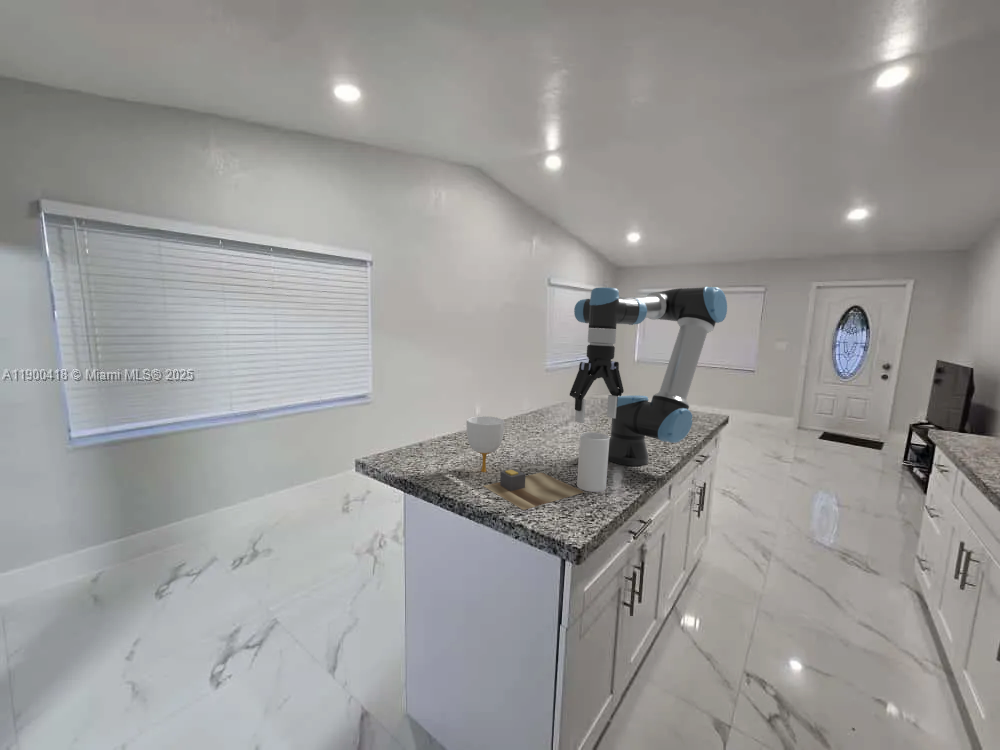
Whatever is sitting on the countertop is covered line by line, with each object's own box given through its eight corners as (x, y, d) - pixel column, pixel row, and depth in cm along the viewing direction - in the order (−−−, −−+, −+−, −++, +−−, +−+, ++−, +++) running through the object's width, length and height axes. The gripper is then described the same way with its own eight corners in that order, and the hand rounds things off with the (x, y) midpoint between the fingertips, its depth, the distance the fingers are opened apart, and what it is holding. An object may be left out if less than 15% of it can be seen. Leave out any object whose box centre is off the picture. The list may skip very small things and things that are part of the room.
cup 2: (611, 493, 120) (615, 438, 118) (586, 496, 117) (590, 440, 115) (594, 482, 128) (598, 431, 126) (571, 485, 125) (574, 432, 123)
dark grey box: (514, 481, 123) (514, 467, 122) (524, 487, 119) (525, 472, 118) (500, 485, 120) (500, 470, 120) (510, 491, 116) (511, 475, 116)
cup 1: (475, 483, 123) (477, 426, 121) (458, 470, 133) (460, 417, 131) (509, 477, 129) (512, 423, 127) (490, 465, 139) (492, 415, 137)
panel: (541, 475, 132) (541, 472, 132) (584, 495, 118) (584, 491, 118) (482, 489, 119) (483, 485, 119) (523, 513, 105) (523, 509, 105)
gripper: (618, 343, 128) (613, 413, 130) (559, 343, 113) (554, 421, 116) (639, 345, 122) (634, 418, 124) (580, 345, 107) (574, 427, 110)
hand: (595, 419), depth 120 cm, fingers open, 13 cm apart
